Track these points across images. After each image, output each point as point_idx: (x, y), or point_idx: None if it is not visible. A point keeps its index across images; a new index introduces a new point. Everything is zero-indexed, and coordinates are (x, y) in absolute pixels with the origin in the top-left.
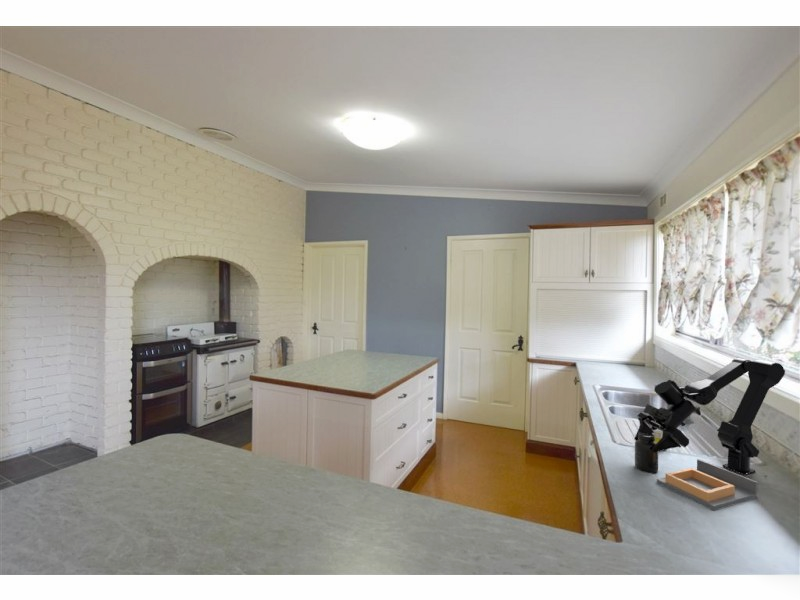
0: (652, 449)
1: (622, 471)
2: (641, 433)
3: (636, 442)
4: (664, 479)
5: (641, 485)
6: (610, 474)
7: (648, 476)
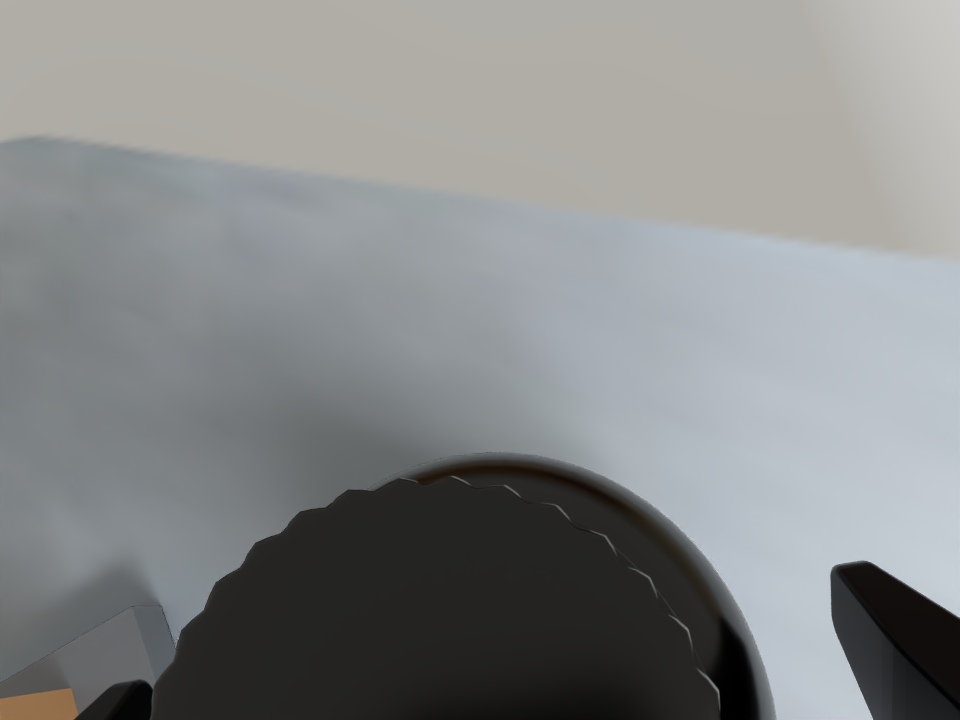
0: (120, 690)
1: (413, 322)
2: (492, 608)
3: (495, 465)
4: None
5: (112, 402)
6: (325, 181)
7: None
